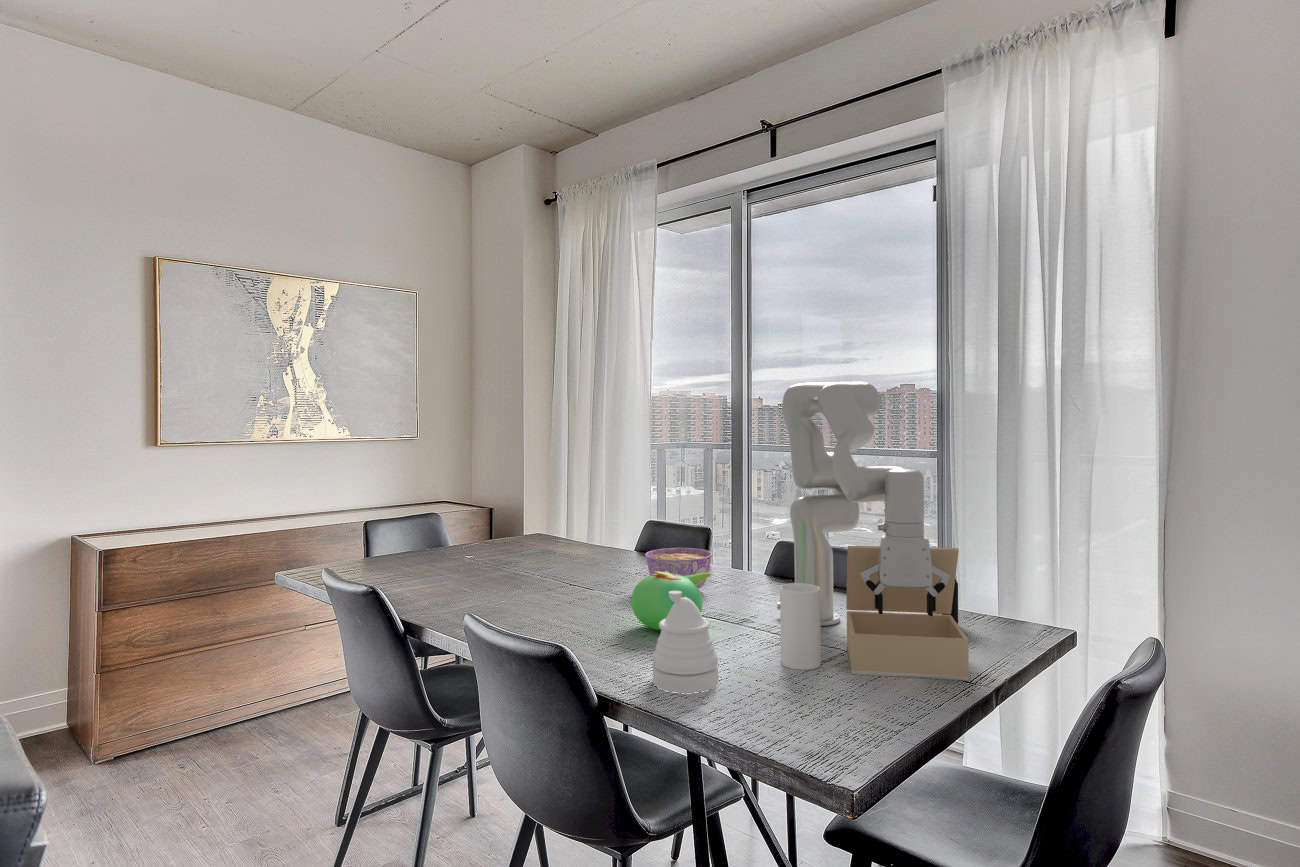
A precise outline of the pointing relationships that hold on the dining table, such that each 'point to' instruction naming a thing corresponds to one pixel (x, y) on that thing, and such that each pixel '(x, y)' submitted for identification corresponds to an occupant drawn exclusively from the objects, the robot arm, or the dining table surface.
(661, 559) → the bowl of food
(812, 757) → the dining table surface
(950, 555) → the lid
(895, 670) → the mailer box
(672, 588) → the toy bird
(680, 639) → the honey pot
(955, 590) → the beverage can
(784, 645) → the cup
